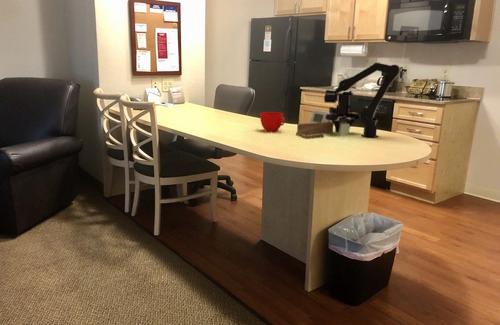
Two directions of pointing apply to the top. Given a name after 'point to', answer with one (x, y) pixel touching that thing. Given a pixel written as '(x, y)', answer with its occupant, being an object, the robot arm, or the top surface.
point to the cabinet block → (343, 129)
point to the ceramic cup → (271, 121)
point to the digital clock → (319, 116)
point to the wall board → (314, 129)
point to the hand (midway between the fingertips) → (342, 132)
